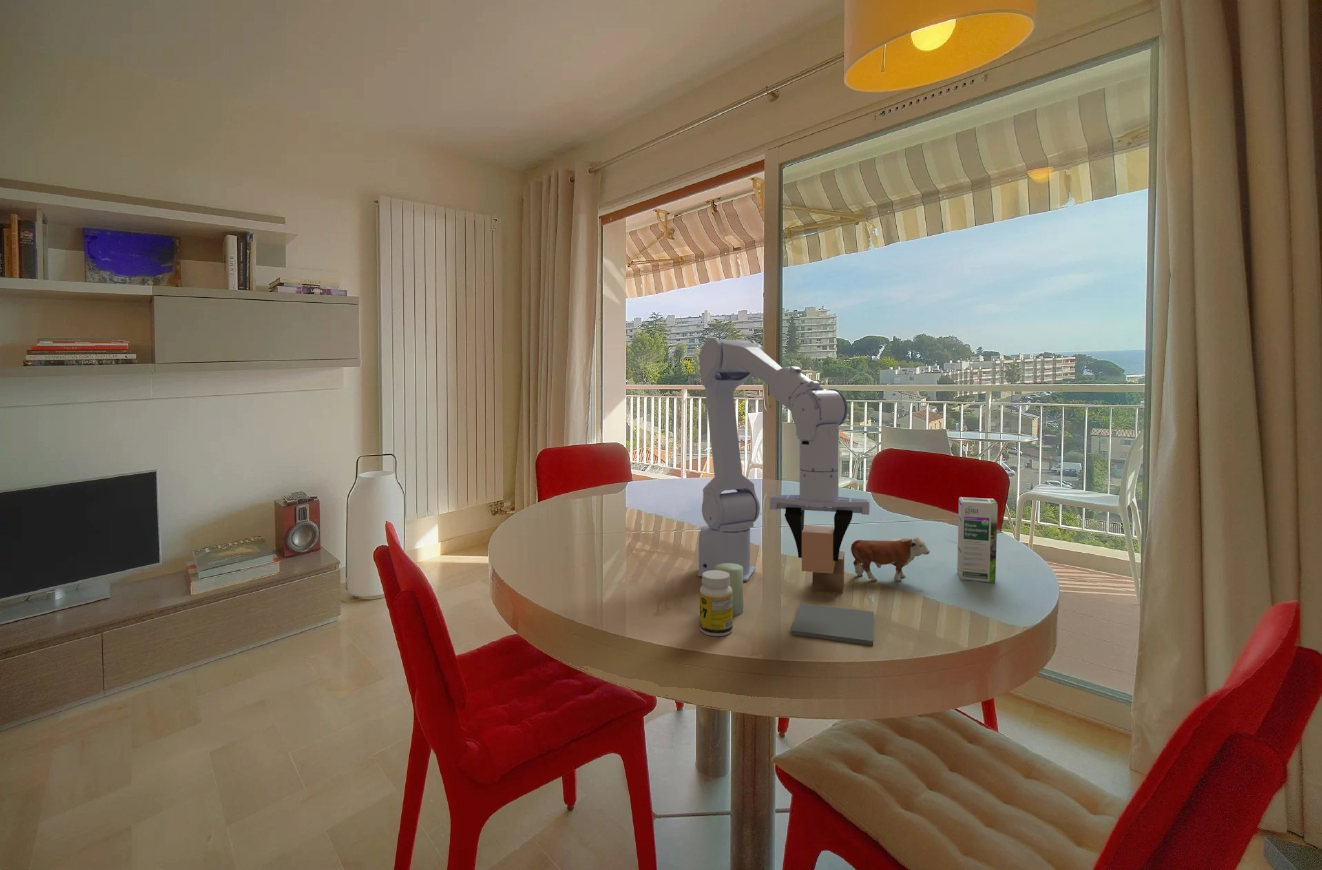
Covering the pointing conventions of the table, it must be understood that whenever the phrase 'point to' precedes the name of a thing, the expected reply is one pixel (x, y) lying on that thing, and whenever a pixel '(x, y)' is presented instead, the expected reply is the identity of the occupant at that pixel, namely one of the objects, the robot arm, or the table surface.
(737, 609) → the sage cylinder
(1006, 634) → the table surface
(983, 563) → the syrup box
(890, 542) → the bull figurine
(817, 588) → the walnut block
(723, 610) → the supplement bottle
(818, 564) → the terracotta brick
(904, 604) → the table surface
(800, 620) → the slate mat
